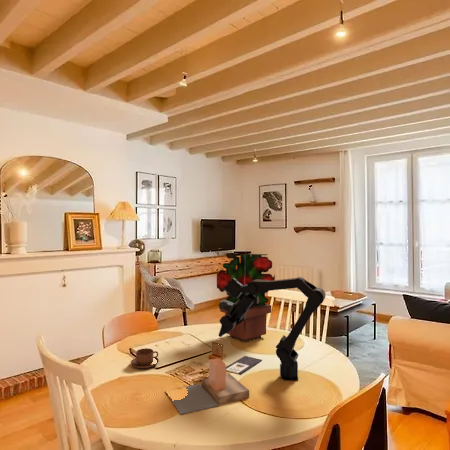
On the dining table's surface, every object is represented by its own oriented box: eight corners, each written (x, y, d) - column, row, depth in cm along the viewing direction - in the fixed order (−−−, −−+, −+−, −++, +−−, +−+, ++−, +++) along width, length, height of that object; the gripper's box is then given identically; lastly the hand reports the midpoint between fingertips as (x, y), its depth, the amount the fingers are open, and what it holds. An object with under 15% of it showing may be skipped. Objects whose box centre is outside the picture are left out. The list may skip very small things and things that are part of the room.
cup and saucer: (146, 358, 173) (146, 344, 173) (164, 364, 165) (164, 350, 165) (125, 366, 163) (125, 351, 163) (142, 373, 156) (142, 358, 156)
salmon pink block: (218, 381, 141) (218, 358, 141) (225, 388, 136) (225, 363, 135) (208, 383, 139) (208, 359, 139) (215, 390, 134) (215, 365, 134)
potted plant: (246, 328, 218) (246, 251, 217) (274, 338, 201) (274, 254, 200) (216, 336, 204) (216, 253, 203) (244, 347, 187) (244, 257, 186)
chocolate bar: (262, 359, 169) (241, 373, 154) (262, 361, 169) (241, 375, 154) (244, 355, 174) (223, 368, 159) (244, 357, 174) (223, 370, 159)
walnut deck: (229, 380, 149) (229, 373, 149) (249, 397, 134) (249, 390, 134) (201, 385, 143) (201, 379, 143) (218, 404, 129) (218, 397, 129)
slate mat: (199, 384, 144) (199, 383, 144) (218, 406, 128) (218, 404, 128) (165, 391, 138) (165, 390, 138) (180, 414, 122) (180, 413, 122)
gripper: (235, 289, 169) (217, 315, 172) (220, 297, 152) (200, 326, 155) (255, 304, 166) (236, 331, 169) (241, 315, 148) (220, 344, 152)
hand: (223, 333), depth 161 cm, fingers open, 9 cm apart
